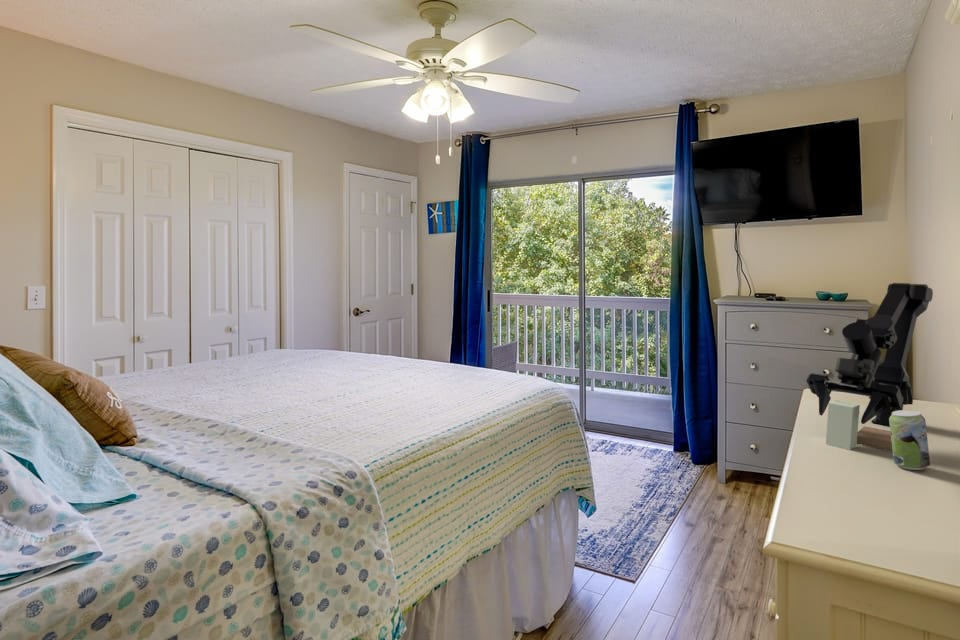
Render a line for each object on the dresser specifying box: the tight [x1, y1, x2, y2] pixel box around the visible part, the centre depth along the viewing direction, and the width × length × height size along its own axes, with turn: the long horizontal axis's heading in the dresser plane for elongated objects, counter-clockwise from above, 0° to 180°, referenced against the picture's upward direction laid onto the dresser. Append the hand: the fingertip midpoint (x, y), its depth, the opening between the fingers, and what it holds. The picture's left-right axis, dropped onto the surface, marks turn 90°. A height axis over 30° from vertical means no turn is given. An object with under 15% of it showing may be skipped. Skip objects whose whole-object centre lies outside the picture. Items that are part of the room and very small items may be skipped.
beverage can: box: [889, 409, 931, 471], centre depth 116 cm, size 6×7×12 cm
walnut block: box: [857, 425, 893, 452], centre depth 131 cm, size 10×10×2 cm
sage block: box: [825, 400, 860, 451], centre depth 130 cm, size 4×5×10 cm
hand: (840, 418), depth 129 cm, fingers open, 8 cm apart
